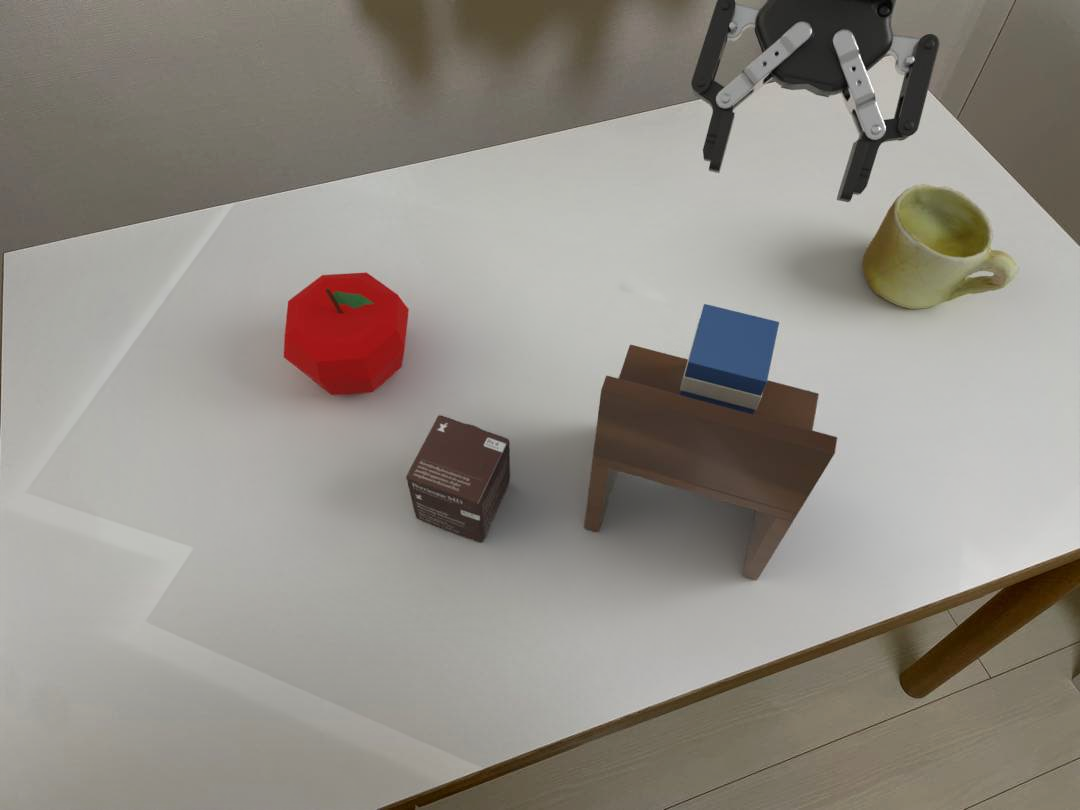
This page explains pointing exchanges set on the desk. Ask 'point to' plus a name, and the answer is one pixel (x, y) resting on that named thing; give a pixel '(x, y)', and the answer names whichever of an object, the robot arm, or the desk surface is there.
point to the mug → (934, 250)
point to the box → (460, 478)
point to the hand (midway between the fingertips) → (778, 185)
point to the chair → (709, 447)
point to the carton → (729, 359)
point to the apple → (346, 332)
